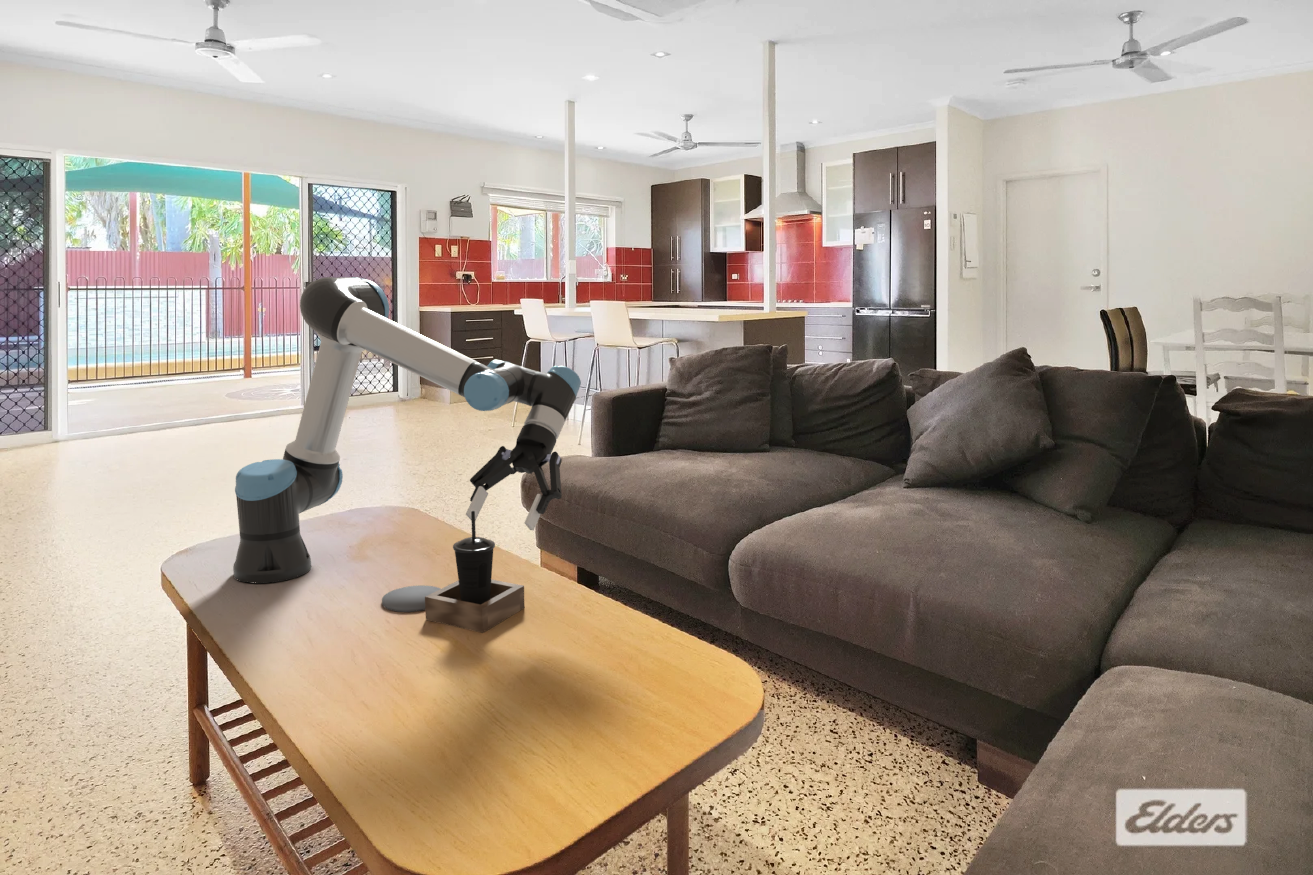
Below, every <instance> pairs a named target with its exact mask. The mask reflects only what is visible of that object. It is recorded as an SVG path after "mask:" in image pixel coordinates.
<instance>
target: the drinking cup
mask: <svg viewBox="0 0 1313 875" xmlns="http://www.w3.org/2000/svg"><path fill="white" fill-rule="evenodd" d="M470 521H471V522H470V523H471V536H470V537H469V536H468V537H466V538H463V539H461V540H459V541H456V542H455V543H453V545H452V549H453V550H454V556H455V563H456V571H457V572H456V573H457V581H458V580H459V588H460V595H461V601H465V602H470V603H475V604H480V605H481V604H483V603H485V602H486V601H488V600H490V591H491V579H492V573H493V562H494V561H493V560H494V548H495V547H496V542H494V540H492V539H488V538H485V537H480V536H477V535H476V534H477V533H476V531H477V530H476V521H475V511H471V520H470Z"/></svg>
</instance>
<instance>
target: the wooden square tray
mask: <svg viewBox="0 0 1313 875" xmlns="http://www.w3.org/2000/svg"><path fill="white" fill-rule="evenodd" d="M523 608H524V609H525V585H522V584H517V583H512V582H508V581H502V580H496V579H492V578H491V591H490V600H488V601H486V602H485V603H483V604H481V605H480V604H475V603H470V602H465V601H461V595H460V588H459V580H458V579H457V580H456V581H454V582H452V583H450V584H448V585H446V586H444V587H442V588H441V589H440V590H438V591H436V592H434V593H431V594H429V595H427V596H425V610H424V611H425V612H424V613H425V620H426V621H430V622H435V623H439V624H442V625H443V624H444V625H446V626H447V625H448V626H452V627H457V628H460V629H464V630H465V629H466V630H469V631H474V632H478V633H482V634H483V633H485V632H487V631H488V630H490V629H492V628H494V627H496V626H497V625H499V624H500V623H502V622H503V621H505V620H507V619H509V618H510V617H512V616H514V615H516V613H518V612H520V611H522V610H523Z"/></svg>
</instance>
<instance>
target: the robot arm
mask: <svg viewBox="0 0 1313 875" xmlns="http://www.w3.org/2000/svg"><path fill="white" fill-rule="evenodd" d="M299 308H300V313H301V316H302V319H303V320H304V323H306V324H307V326H308V327H310V329H312V330H313V331H314V332H315V333H316V334H317V336H318V338H319V339H320V344H319V348H318V353H317V356H316V361H315V364H314V368H313V372H312V376H311V379H310V383H309V385H308V390H307V394H306V399H305V402H304V405H303V409H302V412H301V417H300V421H299V424H298V425H299V426H298V429H297V431H296V436H295V439H294V440H293V441H291V442H289V443H287V444H286V445H285V449H284V454H283V456H282V458H281V459H280V458H277V459H276V458H275V459H274V458H273V459H265V460H262V461H256V462H253V463H250V464H247V465H245V466H243V467H242V468H241V469H239V470H238V472H237V473H236V475H235V487H234V492H235V496H236V506H237V508H236V509H237V517H238V527H239V529H238V530H239V543H238V548H237V552H236V556H235V562H234V563H233V565H232V566H233V577H235V578H236V579H238V580H240V581H239V582H241V581H243V582H242V583H245V582H254V583H253V584H266V583H265V582H272V583H278V582H284V581H288V580H289V581H290V580H292V579H295V578H298V577H300V576H303V575H304V574H306V573H308V572H309V571H310V570H311V569H312V560H311V559H312V558H311V556H310V553H309V551H308V548H307V546H306V544H305V542H304V539H303V538H302V535H301V529H300V528H301V527H300V514H302V513H303V512H306V511H309V510H310V509H313V508H316V507H318V506H319V507H320V506H321V505H323V504H325V503H327V502H328V501H329V500H330V499H332V498H333V497H335V496H336V494H337V493H338V492H339V491H340V489H341V486H342V483H343V476H344V474H343V470H342V468H340V465H341V464H340V459H341V456H340V454H339V452H337V450H336V448H337V444H338V440H339V436H340V433H341V430H342V425H343V423H344V418H345V414H346V411H347V407H348V404H349V401H350V396H351V392H352V390H353V389H352V388H353V387H354V386H353V385H354V382H355V378H356V374H357V372H358V368H359V363H360V361H361V360H360V359H361V357H362V353H363V352H364V351H367V352H369V353H371V354H373V355H376V356H378V357H379V358H382V359H384V360H386V361H387V362H390V363H392V364H394V365H396V366H399V367H400V368H402V369H404V370H407V371H409V372H411V373H413V374H415V375H417V376H419V377H420V378H423V379H425V380H427V381H429V382H432V383H434V384H436V385H438V386H440V387H442V388H444V389H447V390H448V391H450V392H453V393H455V394H457V395H459V396H461V397H462V398H464V399H465V401H466V402H467V404H468V405H469V406H470V407H471V408H473V409H474V410H476V411H480V412H490V411H494V410H497V409H500V408H501V407H503V406H505V405H508V404H511V403H512V402H515V403H519V404H522V405H525V406H526V405H527V406H529V407H531V408H530V410H529V412H528V414H527V416H526V419H525V420H524V423H523V425H522V427H521V429H520V432H519V434H518V436H517V437H516V443H515V446H514V447H513V448H512V449H507V448H506V447H505V446H504V445H501V446H499V448H498V449H497V452H495V455H494V456H492V457H491V458H490V460H488V461H487V462H486V463H485V464H484V465H483V466H482V467H481V468H480V469H478V471H477V472H476V473H475V474H474V475H473V476H472V477H471V478H470V479H469V482H470V483H471V484H472V485H473V486H474V489H473V490H474V491H473V492H472V494H471V496H470V499H469V501H470V504H469V507H468V509H467V510H466V512H465V516H467V518H468V519H469V520H470V521H471V511H475V522H476V521H477V519H478V517H479V514H480V512H481V510H482V508H483V506H484V504H485V502H486V499H487V498H488V496H489V492H488V491H489V490H491V488H493V487H494V486H496V485H497V484H498V483H500V482H501V481H503V480H505V479H506V478H507V477H509V476H510V475H514V474H516V473H517V472H518V473H519V474H523V473H526V474H529V475H532V474H533V473H534V476H535V477H536V481H537V485H538V486H539V487H538V488H539V490H540V493H537V494H536V496H535V498H534V501H533V502H532V505H531V507H530V509H529V512H528V514H527V516H526V518H525V520H524V525H525V526H526V527H527V528H528V529H529V530H530V531H535V528H536V526H537V525H538V524H537V523H538V522H539V519H540V517H541V515H544V514H545V513H546V511H547V508H548V505H550V504H549V503H550V502H551V501H552V500H555V499H556V500H560V499H561V498H562V481H561V470H560V469H561V464H562V461H563V459H562V458H561V456H560V454H559V453H558V452H557V451H553V450H554V448H555V446H556V443H557V439H558V438H559V437H560V434H561V432H562V429H563V427H564V426H565V423H566V421H567V418H568V416H569V414H570V412H571V409H572V408H573V405H574V403H575V401H576V400H577V396H578V393H579V391H580V388H581V385H582V384H581V383H582V380H581V378H580V376H579V375H578V373H576V371H574V370H573V369H572V368H570V367H568V366H564V365H559V366H558V365H554V366H552V367H550V369H549V370H548V371H547V372H543V371H538V370H534V369H530V368H527V367H524V366H522V365H518V364H515V363H512V362H511V361H505V360H500V359H493V360H491V361H490V362H489V363H488V364H487V365H485V364H483V363H480V362H478V361H477V360H475V359H473V358H471V357H468V356H466V355H464V354H463V353H460V352H459V351H457V350H454V349H453V348H450V347H448V346H446V345H443V344H442V343H439V342H438V341H436V340H433V339H431V338H429V337H426V336H425V335H423V334H420V333H419V332H417V331H414V330H412V329H411V328H408V327H406V326H404V325H401V324H400V323H398V322H396V321H393V320H392V319H389V316H390V304H389V300H388V296H387V295H386V293H385V291H384V290H383V289H382V288H381V287H380V286H379V285H378V284H377V283H375V282H374V281H372V280H370V279H365V278H361V277H359V276H358V277H357V276H351V277H334V276H330V277H329V276H327V277H321V278H318V279H315V280H313V281H312V282H310V283H309V284H308V285H307V286H306V287H305V289H304V290H303V292H302V294H301V295H300V300H299ZM547 463H548V465H549V482H550V487H549V485H548V482H547V481H548V480H546V477H545V473H544V470H543V466H545V465H546V464H547ZM511 465H512V466H511ZM235 578H234V579H235ZM236 579H235V580H236ZM238 580H237V581H238ZM255 582H256V583H255ZM263 582H264V583H263Z"/></svg>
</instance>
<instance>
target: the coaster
mask: <svg viewBox="0 0 1313 875" xmlns="http://www.w3.org/2000/svg"><path fill="white" fill-rule="evenodd" d="M440 589H442V588H441V587H437V586H433V585H411V586H403V587H399V588H396V589H393V590H391V591H389V592H387V593H385V594H383V596H382V598H381V603H382V604H381V605H382V607H383V608H385V609H386V610H387V611H390V612H391V611H393V612H399V613H415V612H423V611H425V596H427V595H429V594H431V593H434V592H436V591H438V590H440Z"/></svg>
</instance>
